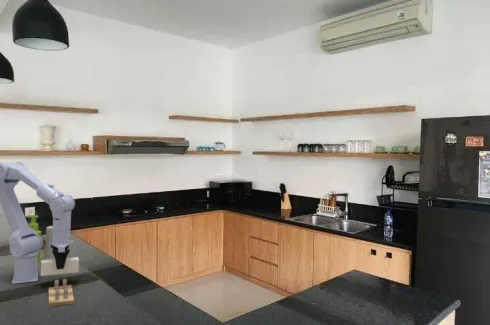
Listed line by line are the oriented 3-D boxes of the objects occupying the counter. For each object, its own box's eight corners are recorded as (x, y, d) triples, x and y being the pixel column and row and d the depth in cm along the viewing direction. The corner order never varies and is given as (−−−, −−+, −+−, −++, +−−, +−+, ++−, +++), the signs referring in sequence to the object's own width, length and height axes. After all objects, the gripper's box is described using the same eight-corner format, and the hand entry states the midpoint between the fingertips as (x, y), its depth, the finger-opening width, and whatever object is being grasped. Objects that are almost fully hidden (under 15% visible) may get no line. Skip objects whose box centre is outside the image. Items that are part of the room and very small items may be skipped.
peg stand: (48, 291, 125) (49, 278, 124) (71, 288, 128) (71, 276, 128) (48, 307, 112) (49, 293, 112) (73, 303, 116) (74, 290, 116)
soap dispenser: (25, 260, 156) (27, 214, 155) (42, 260, 156) (44, 214, 156) (18, 264, 150) (20, 216, 149) (36, 265, 150) (37, 217, 150)
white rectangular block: (40, 275, 127) (41, 263, 127) (40, 272, 130) (41, 259, 130) (78, 272, 133) (78, 260, 132) (77, 268, 136) (78, 256, 136)
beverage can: (53, 264, 153) (54, 228, 152) (41, 262, 154) (43, 227, 153) (62, 260, 158) (63, 226, 158) (51, 259, 159) (52, 225, 159)
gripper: (75, 233, 127) (73, 271, 127) (72, 225, 139) (71, 260, 140) (52, 234, 123) (50, 274, 124) (51, 225, 136) (50, 261, 136)
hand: (60, 266), depth 131 cm, fingers closed on white rectangular block, 4 cm apart
